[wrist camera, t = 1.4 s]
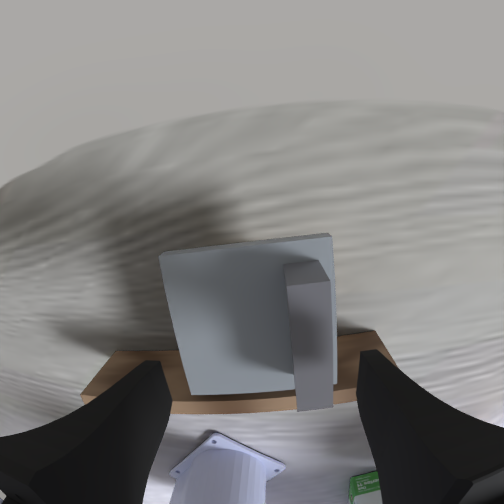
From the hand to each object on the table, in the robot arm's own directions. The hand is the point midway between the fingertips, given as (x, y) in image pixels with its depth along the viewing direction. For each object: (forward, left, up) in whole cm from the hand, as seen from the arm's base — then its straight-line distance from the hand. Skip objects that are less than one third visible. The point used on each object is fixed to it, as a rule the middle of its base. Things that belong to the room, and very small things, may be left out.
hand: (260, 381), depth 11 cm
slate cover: (0, 0, -5) cm, 6 cm away
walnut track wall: (-5, -2, -11) cm, 12 cm away
